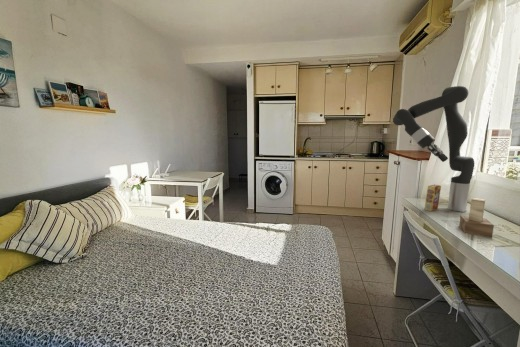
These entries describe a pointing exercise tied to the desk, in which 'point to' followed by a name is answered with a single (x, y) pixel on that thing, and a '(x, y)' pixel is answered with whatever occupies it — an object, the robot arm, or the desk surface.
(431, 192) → the candy box
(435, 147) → the robot arm
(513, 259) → the desk surface
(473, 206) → the birch block
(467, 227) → the block
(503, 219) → the desk surface
